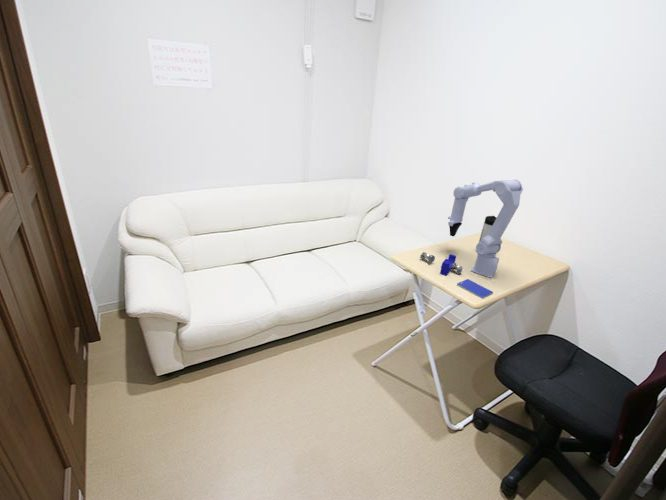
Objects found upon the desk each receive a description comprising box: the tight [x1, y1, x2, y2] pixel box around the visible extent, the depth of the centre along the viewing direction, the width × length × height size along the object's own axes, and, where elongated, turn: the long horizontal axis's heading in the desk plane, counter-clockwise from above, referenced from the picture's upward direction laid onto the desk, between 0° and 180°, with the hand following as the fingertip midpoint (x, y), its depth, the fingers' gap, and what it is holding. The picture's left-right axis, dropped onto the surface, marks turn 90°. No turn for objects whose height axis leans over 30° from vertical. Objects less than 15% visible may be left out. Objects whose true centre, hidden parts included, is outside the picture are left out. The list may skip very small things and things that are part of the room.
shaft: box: [419, 251, 436, 263], centre depth 169 cm, size 6×4×4 cm, turn 33°
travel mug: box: [478, 215, 497, 243], centre depth 181 cm, size 6×7×20 cm
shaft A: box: [451, 262, 463, 275], centre depth 161 cm, size 4×4×4 cm
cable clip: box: [439, 253, 457, 276], centre depth 163 cm, size 12×4×6 cm, turn 146°
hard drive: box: [456, 278, 494, 299], centre depth 149 cm, size 2×8×12 cm
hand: (452, 235), depth 179 cm, fingers closed
